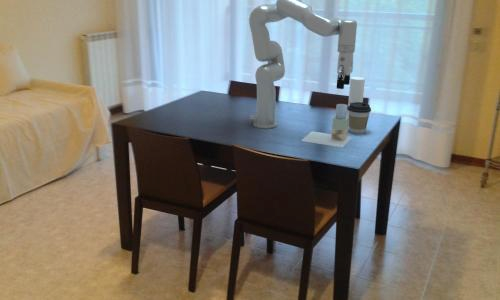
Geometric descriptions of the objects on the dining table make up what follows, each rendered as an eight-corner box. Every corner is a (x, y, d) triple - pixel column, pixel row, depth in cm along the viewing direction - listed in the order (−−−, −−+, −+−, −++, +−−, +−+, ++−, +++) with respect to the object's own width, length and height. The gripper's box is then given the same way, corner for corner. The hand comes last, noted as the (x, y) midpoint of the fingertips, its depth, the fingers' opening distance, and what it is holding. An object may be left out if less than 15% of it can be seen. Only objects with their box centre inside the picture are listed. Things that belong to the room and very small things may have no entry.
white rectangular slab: (300, 143, 225) (300, 140, 224) (311, 134, 238) (311, 131, 238) (342, 150, 217) (343, 147, 216) (351, 140, 230) (351, 137, 230)
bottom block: (331, 139, 227) (332, 128, 225) (334, 135, 232) (335, 125, 230) (343, 140, 225) (344, 130, 223) (347, 137, 230) (348, 127, 228)
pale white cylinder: (334, 118, 224) (335, 105, 222) (337, 115, 228) (338, 103, 226) (344, 119, 222) (345, 107, 220) (347, 117, 226) (348, 104, 224)
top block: (332, 128, 225) (332, 118, 224) (335, 125, 230) (336, 115, 229) (344, 130, 223) (345, 120, 221) (348, 127, 228) (348, 117, 226)
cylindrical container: (351, 122, 258) (355, 76, 249) (363, 125, 253) (367, 78, 244) (343, 125, 253) (347, 78, 244) (355, 128, 248) (359, 80, 239)
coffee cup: (369, 138, 234) (372, 108, 228) (345, 136, 235) (348, 106, 230) (368, 131, 244) (371, 102, 239) (345, 129, 246) (347, 101, 241)
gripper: (349, 51, 205) (346, 91, 211) (359, 46, 220) (355, 83, 226) (332, 50, 208) (329, 89, 214) (343, 45, 223) (340, 82, 229)
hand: (343, 86), depth 220 cm, fingers open, 9 cm apart
